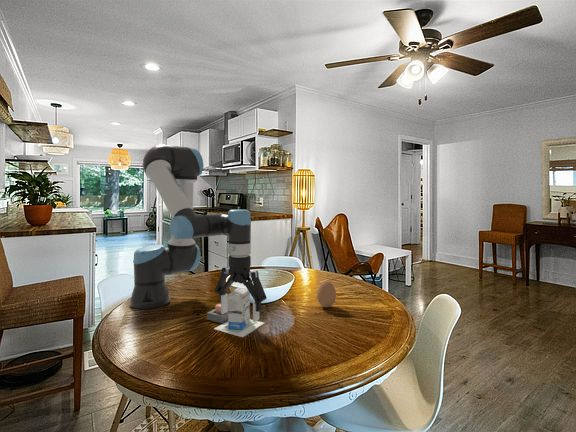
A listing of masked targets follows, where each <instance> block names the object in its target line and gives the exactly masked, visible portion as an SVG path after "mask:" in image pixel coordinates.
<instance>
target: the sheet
mask: <svg viewBox="0 0 576 432" xmlns="http://www.w3.org/2000/svg"><path fill="white" fill-rule="evenodd" d="M265 324H266V323H265V322H262V321H259V320H257V321H256V322H253V319H251V318H250V322H249V323H248V324H247V325H246V326H245V327H244V328H243V329H242V330H235V329H229V324H228V321H226V322H224V323H221V324H220V325H218V326H216V327H214V328H213V330H215V331H219V332H223V333H226V334H229V335H232V336H237V337H239V338H245V337H246V336H248V335H249V334H250V333H252V332H254V331H256V330H257V329H259V328H261V326H263V325H265Z"/></svg>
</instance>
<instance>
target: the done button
mask: <svg viewBox="0 0 576 432" xmlns="http://www.w3.org/2000/svg"><path fill="white" fill-rule="evenodd" d="M215 309H216V313H217V314H221V303H217V304H216V305H215Z"/></svg>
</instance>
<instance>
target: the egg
mask: <svg viewBox="0 0 576 432" xmlns="http://www.w3.org/2000/svg"><path fill="white" fill-rule="evenodd" d="M316 299H317V301H318V304H319V305H321V307H323V308H326V309H327V308H328V309H329V308H331V307H332V306H333V305H334V304H335V302H336V299H337V293H336V288H335V286H334V284H333V283H332V282H331V281H329V280H324V281H322V282H321V283H320V284H319V286H318V289H317V291H316Z"/></svg>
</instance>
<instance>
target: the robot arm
mask: <svg viewBox="0 0 576 432" xmlns="http://www.w3.org/2000/svg"><path fill="white" fill-rule="evenodd" d="M142 167H143V171H144V173H145V176H146V177H147V179H149V180H150V181H152V183H153V184H154V186H155V189H156V190H157V192H158V193H159V196H160V198H161V199H162V202H163V203H164V206H165V207H166V209H167V210H168V212H169V215H170V217H171V219H170V223H169V230H170V234H171V237H170V239H169V240H168V241H167V246H166V247H165V245H163V244H151V245H146V246H142V247H139V248H137V249H136V250H135V251H134V253H133V261H132V263H133V275H134V276H133V279H134V282H133V283H134V284H133V285H134V286H133V290H132V292H131V293H132V294H131V297H130V299H129V304H130V307H131V308H133V309H136V310H137V309H139V310H148V309H155V308H159V307H162V306H166V305H167V304H168V303H170V301H171V297H170V296H171V295H170V293H169V290H168V287H167V285H166V276H169V275H175V274H180V273H181V274H182V273H188V272H191V271H194V270H196V269H197V268H198V266H199V265H200V262H201V250H200V249H201V248H200V247H199V246H198V244H196V241H195V240H194V239H196V238H198V239H199V238H206V237H216V236H226V237H227V239H228V240H227V243H228V244H227V245H228V246H227V248H228V249H227V250H228V260H227V261H228V266H225V267H222V268H221V272H220V273H221V274H220V276H219V279H218V281H217V284H216V286H215V288H214V292H215V293H218V295H219V304H221V314H224V313H226V312H228V295H229V293H227V291H228V290H229V289H230V288H231V286H232V285H233V283H238V284H242V285H243V286H245V289H248V291H249V292H250V297H252V299H253V301H252V320H253V322H256V321H259V320H260V312H261V311H262V302H263V301H265V300H268V299H267V298H268V297H267V294H266V293H265V290H264V288H263V285H262V282H261V280H260V276H259V271H257V270H255V271H251V266H252V265H251V264H252V262H251V261H252V257H251V254H252V248H251V247H252V245H251V244H252V243H251V239H252V238H251V237H252V236H251V233H252V232H251V231H252V230H251V229H252V228H251V227H252V220H251V212H250V210H248V209H241V208H240V209H229V210H228V212H227V214H226V213H222V212H221V213H212V214H197V212H196V211H195V210H194V186H195V185H194V184H195V183H196V182H197V181H198V177H199V176H201V175H202V174H203V171H204V159H203V156H202V154H201V152H200V151H199V150H198V149H197V148H193V147H189V146H178V145H177V146H176V145H167V144H158V145H155V146H153V147H151V148H150V149H148V151H146V153H145V155H144V156H143V160H142ZM228 276H229V277H228Z"/></svg>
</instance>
